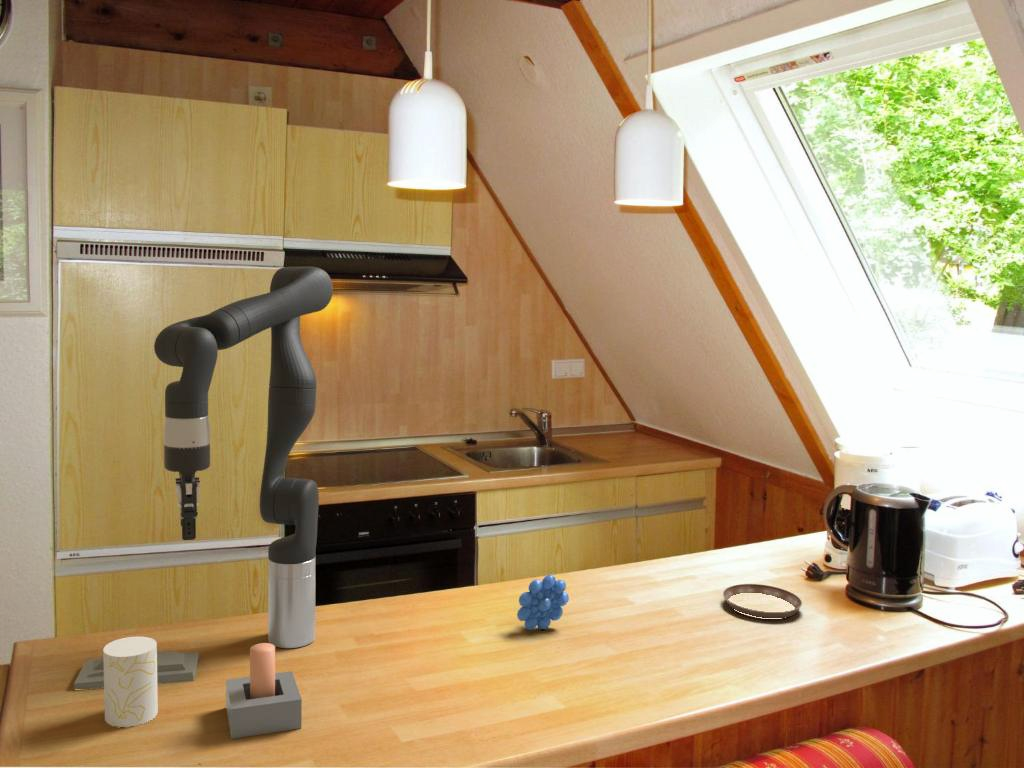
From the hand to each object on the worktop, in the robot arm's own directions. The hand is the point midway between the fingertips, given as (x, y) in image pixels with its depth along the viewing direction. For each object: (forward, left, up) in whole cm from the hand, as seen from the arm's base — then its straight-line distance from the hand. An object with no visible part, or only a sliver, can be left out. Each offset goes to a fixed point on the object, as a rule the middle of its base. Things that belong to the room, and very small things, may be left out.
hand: (188, 532), depth 159 cm
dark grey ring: (-2, +125, -29) cm, 128 cm away
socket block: (+16, +11, -28) cm, 34 cm away
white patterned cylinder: (+9, -9, -28) cm, 31 cm away
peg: (+16, +11, -28) cm, 34 cm away
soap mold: (-8, -9, -29) cm, 31 cm away
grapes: (-6, +71, -28) cm, 77 cm away
